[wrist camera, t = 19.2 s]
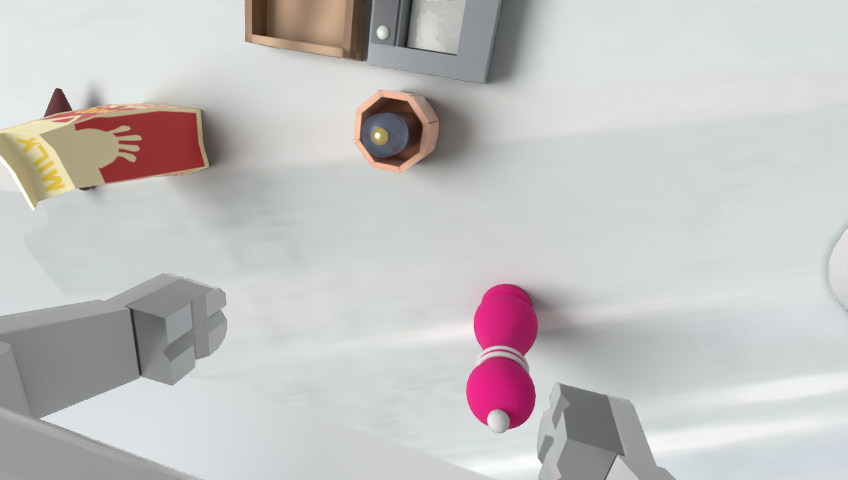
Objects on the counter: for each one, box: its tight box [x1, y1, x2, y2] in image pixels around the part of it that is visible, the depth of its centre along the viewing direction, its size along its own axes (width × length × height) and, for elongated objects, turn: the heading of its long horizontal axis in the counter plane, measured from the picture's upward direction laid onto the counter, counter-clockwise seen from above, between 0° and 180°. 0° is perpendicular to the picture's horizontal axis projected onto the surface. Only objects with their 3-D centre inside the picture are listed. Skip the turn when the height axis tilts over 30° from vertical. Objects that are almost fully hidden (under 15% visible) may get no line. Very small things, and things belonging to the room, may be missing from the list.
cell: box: [362, 111, 422, 158], centre depth 40 cm, size 4×4×9 cm
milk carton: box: [0, 103, 210, 210], centre depth 43 cm, size 9×9×20 cm
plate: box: [407, 0, 466, 55], centre depth 39 cm, size 5×5×1 cm
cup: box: [354, 90, 439, 173], centre depth 42 cm, size 8×8×6 cm
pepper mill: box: [466, 284, 538, 433], centre depth 40 cm, size 7×7×20 cm
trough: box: [245, 0, 367, 61], centre depth 41 cm, size 12×8×3 cm, turn 81°
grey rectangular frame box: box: [367, 0, 503, 84], centre depth 38 cm, size 12×10×4 cm
